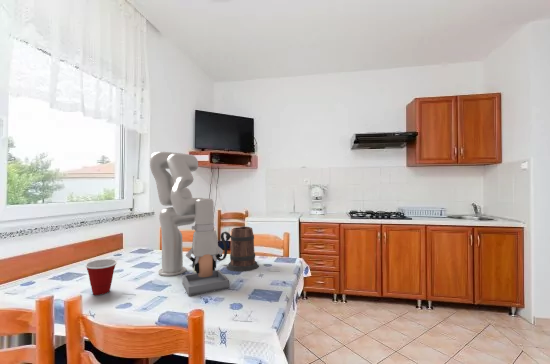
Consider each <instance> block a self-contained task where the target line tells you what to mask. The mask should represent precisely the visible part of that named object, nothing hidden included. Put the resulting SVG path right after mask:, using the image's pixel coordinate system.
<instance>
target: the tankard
mask: <svg viewBox="0 0 550 364" xmlns="http://www.w3.org/2000/svg"><path fill="white" fill-rule="evenodd" d="M224 235H225V237H224ZM225 238H226V239H225ZM220 239H221V242H222V244H223V247H224V250H223V253H222V254H221V255H220V257H219V258H218V259H217V261H219V262H222V261H224V260H225V259H226V258H227V254H228V243H227V242H228V241H229V240H230V254H229V258H230V262H228V264H227V265H226V268H225V269H226V270H228V271H230V272H235V273H236V272H238V273H239V272H241V273H243V272H251V271H255V270H257V269H259V267H260V264H259V263H258V262H257V261H256V253H255V234H254V231H253V228H252V227H250V226H239V227H233V228H232V230H231V234H230V232H229V231H223V232H221V234H220Z"/></svg>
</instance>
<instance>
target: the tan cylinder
mask: <svg viewBox="0 0 550 364" xmlns="http://www.w3.org/2000/svg"><path fill="white" fill-rule="evenodd" d="M198 264H199V273H198V276H199V277H209V276H212V275H213V256H211V255H210V254H208V255H203V256H202V257H199V260H198Z"/></svg>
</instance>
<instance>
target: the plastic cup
mask: <svg viewBox="0 0 550 364" xmlns="http://www.w3.org/2000/svg"><path fill="white" fill-rule="evenodd" d="M117 264H118V260H116V259H113V258H112V259H111V258H110V259H109V258H103V259H96V260H95V259H94V260H92V261H88V262H87V263H85V265H84V267H85V268H86V270H87V273H88V274H87V275H88V278H89V284H90V287H91V288H90V289H91V293H92V294H93V295H94V296H100V294H102V295H105V293H106V294H108V293H110V291H111V287H112V282H113V276H114V274H115V273H114V271H115V267H116V265H117ZM107 292H108V293H107Z"/></svg>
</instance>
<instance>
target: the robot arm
mask: <svg viewBox="0 0 550 364" xmlns="http://www.w3.org/2000/svg"><path fill="white" fill-rule="evenodd" d="M198 167H199V160H198V159H197V157H196V155H193V154H188V153H181V152H171V151H170V152H169V151H156V152H153V153H152V154H151V156H150V158H149V168H150V171H151V174H152V176H153V178H154V180H155V184H156V190H157V194H158V199H159V203H160V204H161V205H162V206H164V207H165V208H163V209H161V211H160V212H159V215H158V216H159V218H158V219H159V223H160V229H161V230H160V231H161V269H159V270H158V275H160V276H164V277H166V276H167V277H170V276H178V275H181V274H184V273H185V272H186V271H187V268H186V267H185V266H183V264H184V262H183V260H184V259H183V258H184V257H183V256H184V255H183V253H184V252H183V251H184V250H183V248H184V247H183V234H182V232H181V230H180V228H179V227H182V226H189V225H192V226H191V230H194V232H193V235H192V245H191V248H190V249H189V251H187V253H186V254H185V256H186V257H187V259H189V260H190V261H191V262H192V263H194V264H193V265H194V266H193V267H194V268H193V269H194V272H195V273H197V274H198V273H199V264H198V260H199V257H202V256H203V255H208V254H210V255H211V256H213V271H215V270H216V269H217V261H218V260H217V259H218V258H221V257H220V255H221V254H222V255H223V254H224V250H223V249H222V248H221V247H220V246H219V243H218V234H217V231H216V230H215V221H214V220H215V219H214V218H215V216H214V212H215V211H214V210H215V209H214V200H213V199H212V198H203V197H193V195H192V191H191V190H190V189H189V186H190V185H192V184H193V182H194V176H193V174H192V172H193V173H194V172H195V171H197V169H198ZM168 170H169V171H170V172H169V171H168ZM167 206H168V207H167ZM169 206H170V207H169ZM171 206H172V207H171ZM194 223H195V224H194ZM193 224H194V225H193ZM192 255H193V256H194V257H193V256H192Z"/></svg>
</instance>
